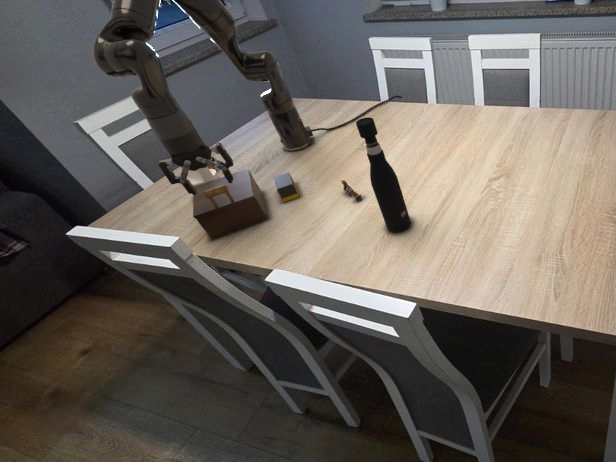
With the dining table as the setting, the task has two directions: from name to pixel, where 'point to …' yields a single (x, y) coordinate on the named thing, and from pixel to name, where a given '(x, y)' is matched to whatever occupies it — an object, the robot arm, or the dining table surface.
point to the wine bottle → (384, 180)
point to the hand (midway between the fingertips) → (213, 187)
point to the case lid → (222, 193)
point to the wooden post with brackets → (350, 190)
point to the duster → (286, 187)
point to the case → (235, 215)
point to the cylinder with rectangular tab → (202, 176)
